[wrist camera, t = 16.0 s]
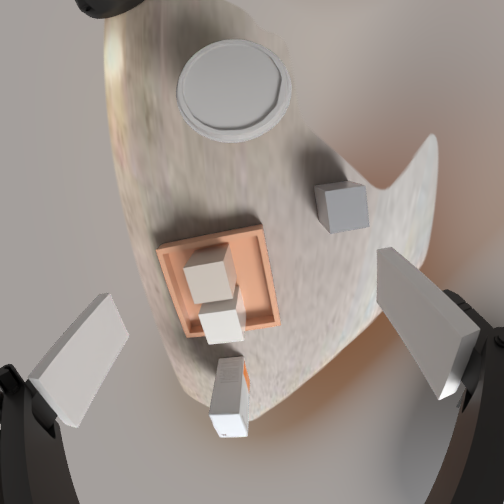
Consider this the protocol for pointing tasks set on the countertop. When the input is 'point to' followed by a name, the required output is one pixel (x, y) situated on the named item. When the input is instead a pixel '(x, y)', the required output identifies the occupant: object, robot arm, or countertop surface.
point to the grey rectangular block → (342, 206)
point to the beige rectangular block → (211, 274)
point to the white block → (224, 319)
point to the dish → (248, 278)
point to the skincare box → (231, 398)
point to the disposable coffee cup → (233, 91)
